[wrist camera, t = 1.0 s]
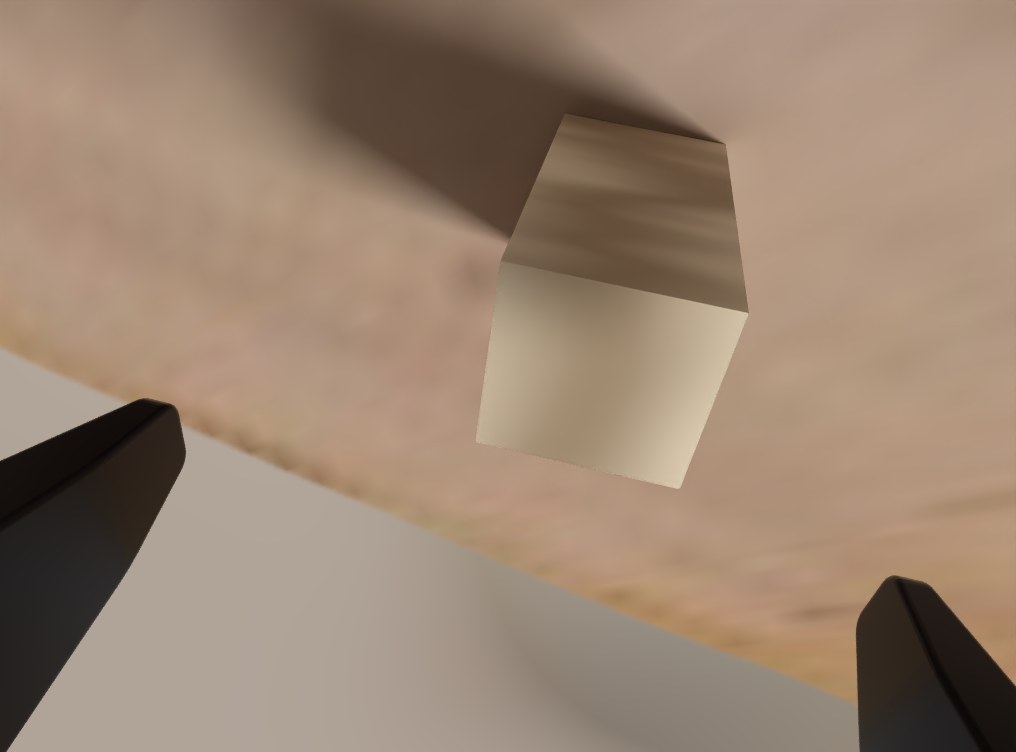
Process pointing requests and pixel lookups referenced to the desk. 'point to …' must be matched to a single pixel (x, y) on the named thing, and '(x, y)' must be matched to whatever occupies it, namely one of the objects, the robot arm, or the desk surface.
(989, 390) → the desk surface
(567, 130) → the maple peg
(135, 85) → the desk surface
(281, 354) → the desk surface
